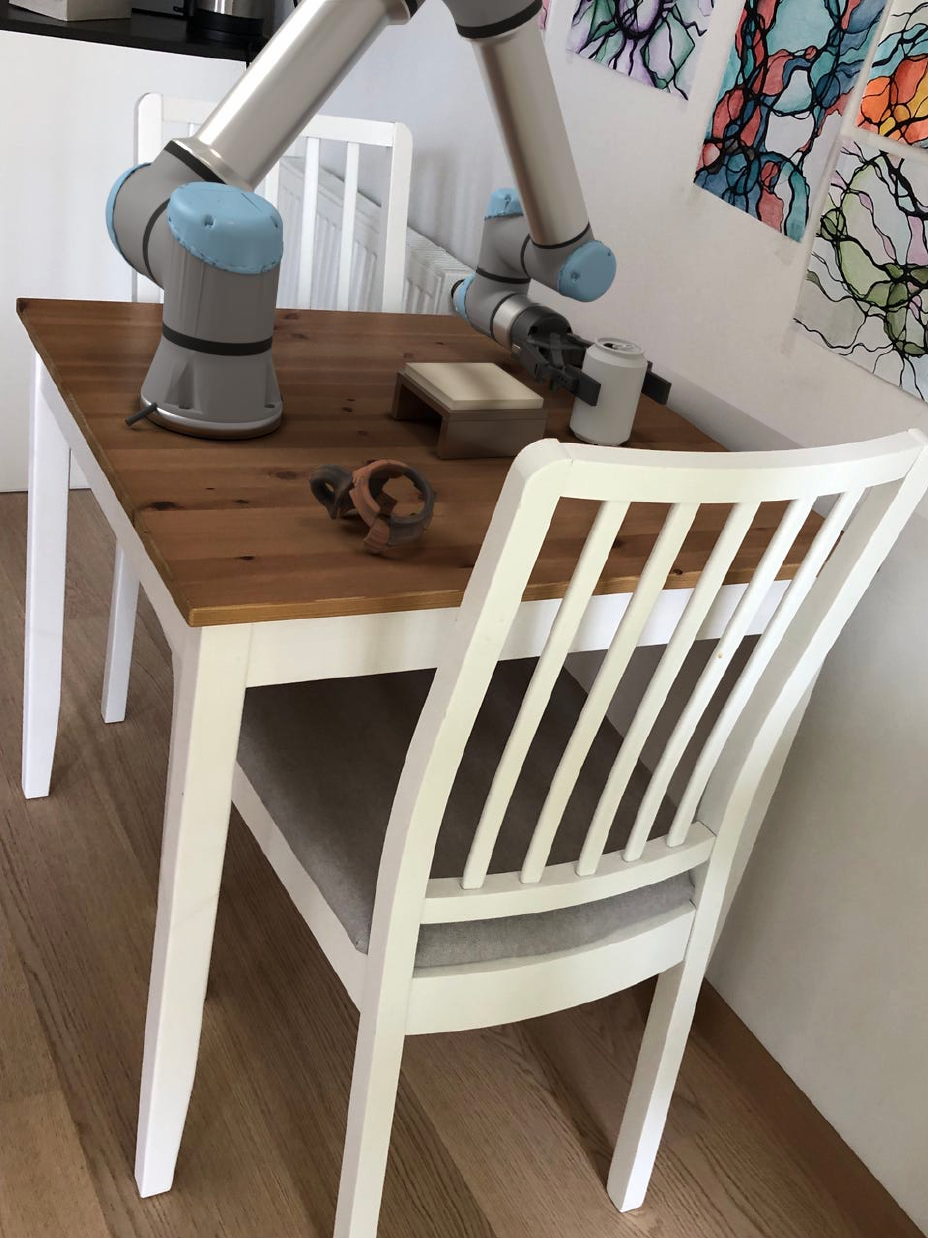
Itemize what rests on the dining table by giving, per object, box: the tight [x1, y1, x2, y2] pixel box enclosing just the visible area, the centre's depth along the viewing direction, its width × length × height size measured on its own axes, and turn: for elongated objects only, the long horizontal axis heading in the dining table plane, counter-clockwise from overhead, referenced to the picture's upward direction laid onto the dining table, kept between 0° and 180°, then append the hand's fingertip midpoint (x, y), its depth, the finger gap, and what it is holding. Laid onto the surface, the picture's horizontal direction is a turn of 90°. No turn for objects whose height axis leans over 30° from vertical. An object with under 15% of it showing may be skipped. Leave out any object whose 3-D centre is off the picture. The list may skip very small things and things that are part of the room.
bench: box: [390, 362, 550, 460], centre depth 143 cm, size 13×13×7 cm
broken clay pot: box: [307, 459, 436, 554], centre depth 116 cm, size 12×10×8 cm
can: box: [569, 335, 648, 447], centre depth 149 cm, size 8×8×12 cm
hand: (632, 394), depth 146 cm, fingers open, 10 cm apart
